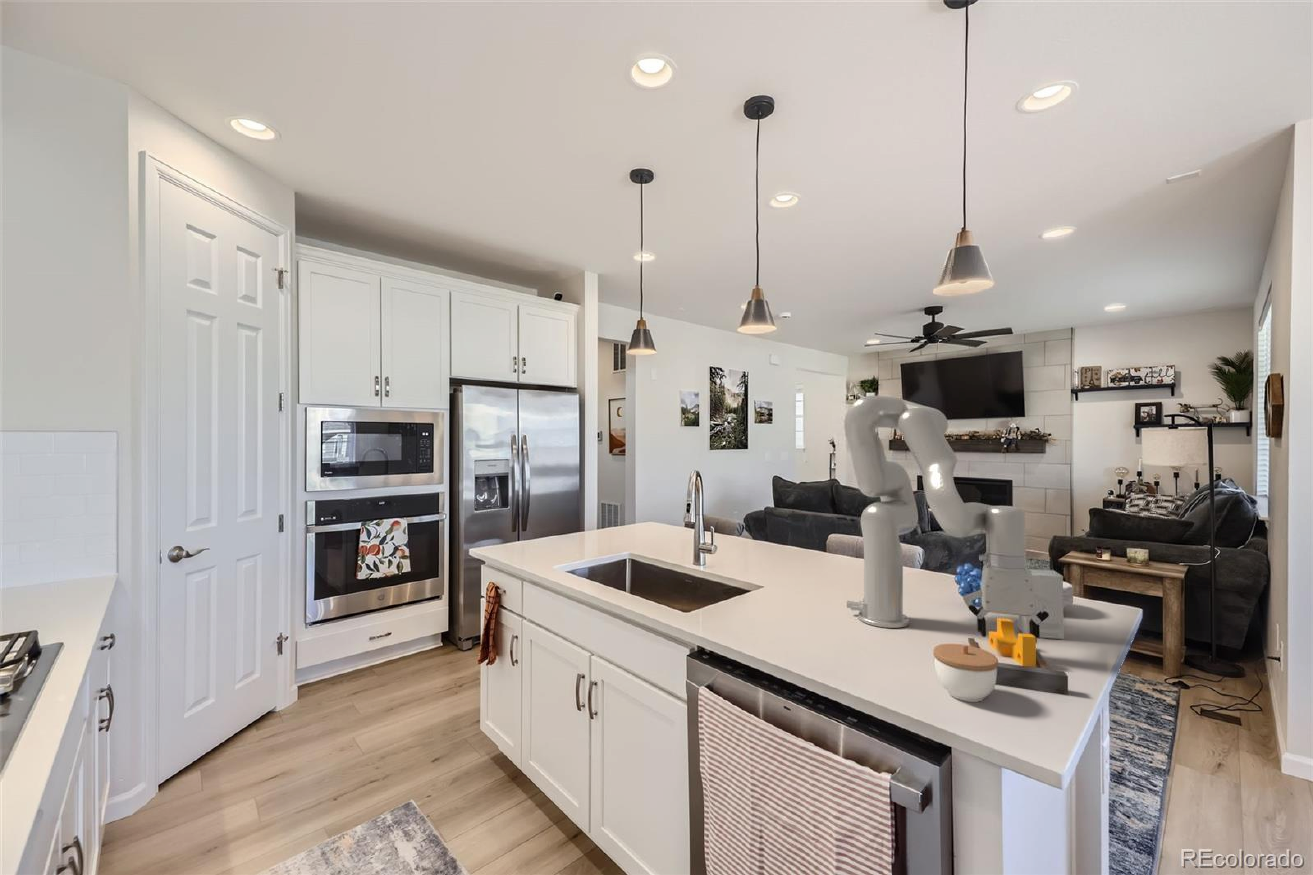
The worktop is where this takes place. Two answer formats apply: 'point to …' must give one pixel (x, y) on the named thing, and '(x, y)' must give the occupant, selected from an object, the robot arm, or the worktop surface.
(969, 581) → the grapes
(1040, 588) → the skincare box
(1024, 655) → the pipe clamp
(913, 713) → the worktop surface
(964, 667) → the lidded jar
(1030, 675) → the rail
